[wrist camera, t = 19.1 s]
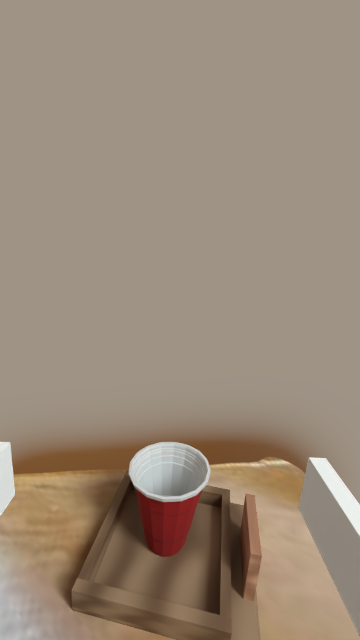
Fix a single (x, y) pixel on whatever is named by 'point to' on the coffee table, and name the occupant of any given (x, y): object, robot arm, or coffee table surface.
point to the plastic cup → (168, 492)
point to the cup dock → (176, 571)
